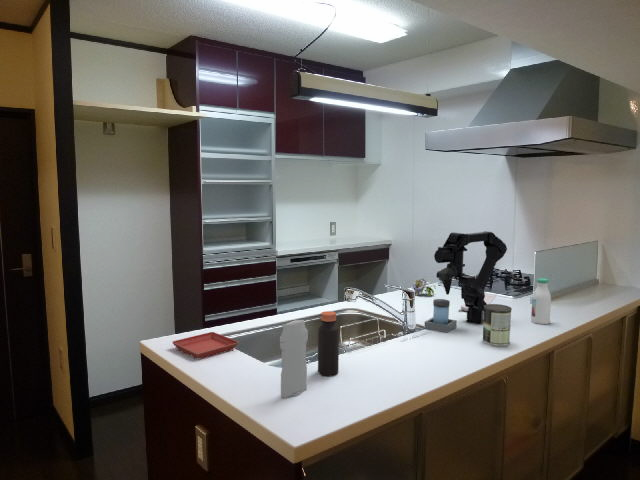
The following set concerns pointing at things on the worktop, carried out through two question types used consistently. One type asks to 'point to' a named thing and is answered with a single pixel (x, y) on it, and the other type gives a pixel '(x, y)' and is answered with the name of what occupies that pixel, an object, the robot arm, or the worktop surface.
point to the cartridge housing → (440, 325)
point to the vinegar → (328, 345)
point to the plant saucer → (205, 344)
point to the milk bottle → (541, 303)
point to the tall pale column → (293, 359)
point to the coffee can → (496, 324)
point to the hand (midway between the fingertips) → (455, 296)
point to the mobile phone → (487, 299)
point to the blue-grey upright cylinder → (441, 311)
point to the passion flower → (422, 287)
